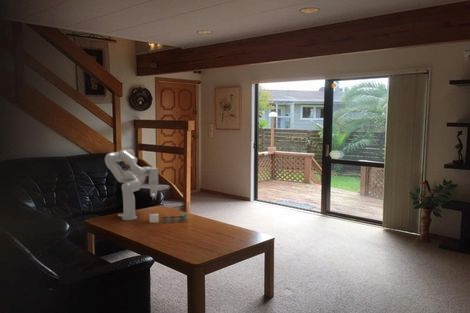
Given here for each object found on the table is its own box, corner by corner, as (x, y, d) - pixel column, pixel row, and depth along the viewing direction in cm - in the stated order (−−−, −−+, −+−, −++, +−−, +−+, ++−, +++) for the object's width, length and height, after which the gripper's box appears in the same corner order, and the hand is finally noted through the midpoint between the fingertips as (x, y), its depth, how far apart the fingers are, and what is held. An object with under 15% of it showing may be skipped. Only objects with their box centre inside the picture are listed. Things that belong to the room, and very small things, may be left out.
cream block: (149, 222, 315) (149, 215, 314) (150, 221, 319) (149, 214, 319) (158, 222, 316) (158, 215, 316) (158, 220, 321) (158, 213, 320)
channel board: (161, 223, 313) (161, 216, 312) (161, 219, 325) (161, 213, 324) (186, 222, 316) (186, 215, 316) (185, 218, 328) (185, 212, 328)
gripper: (149, 181, 323) (150, 201, 324) (148, 184, 306) (149, 205, 307) (158, 180, 324) (159, 200, 325) (158, 183, 307) (158, 205, 308)
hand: (154, 203), depth 316 cm, fingers open, 9 cm apart
